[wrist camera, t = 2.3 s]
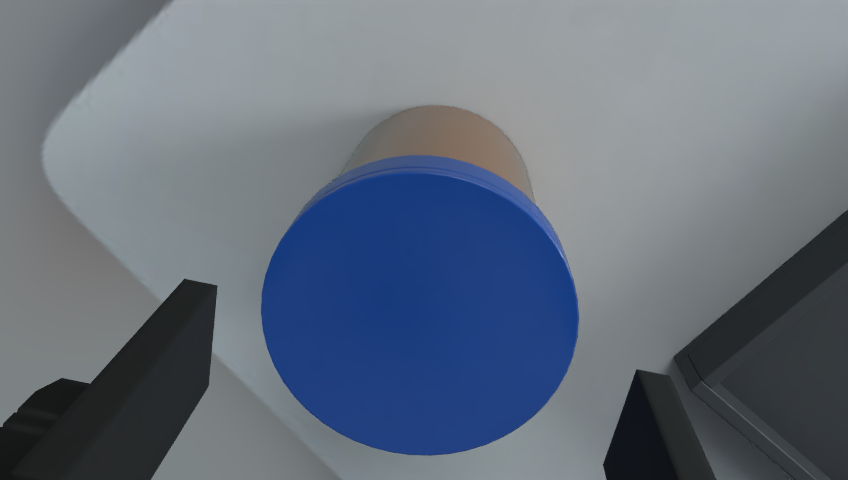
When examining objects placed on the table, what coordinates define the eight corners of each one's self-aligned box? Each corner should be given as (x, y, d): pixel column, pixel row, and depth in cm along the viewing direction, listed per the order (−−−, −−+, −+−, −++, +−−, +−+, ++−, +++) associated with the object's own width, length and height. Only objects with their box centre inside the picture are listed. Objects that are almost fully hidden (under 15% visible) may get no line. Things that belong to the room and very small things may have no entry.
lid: (434, 468, 23) (432, 506, 21) (218, 307, 21) (198, 335, 20) (634, 288, 20) (648, 316, 19) (404, 88, 19) (397, 100, 17)
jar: (445, 316, 31) (433, 476, 22) (306, 205, 30) (227, 324, 20) (570, 191, 29) (619, 308, 19) (426, 63, 27) (402, 121, 18)
